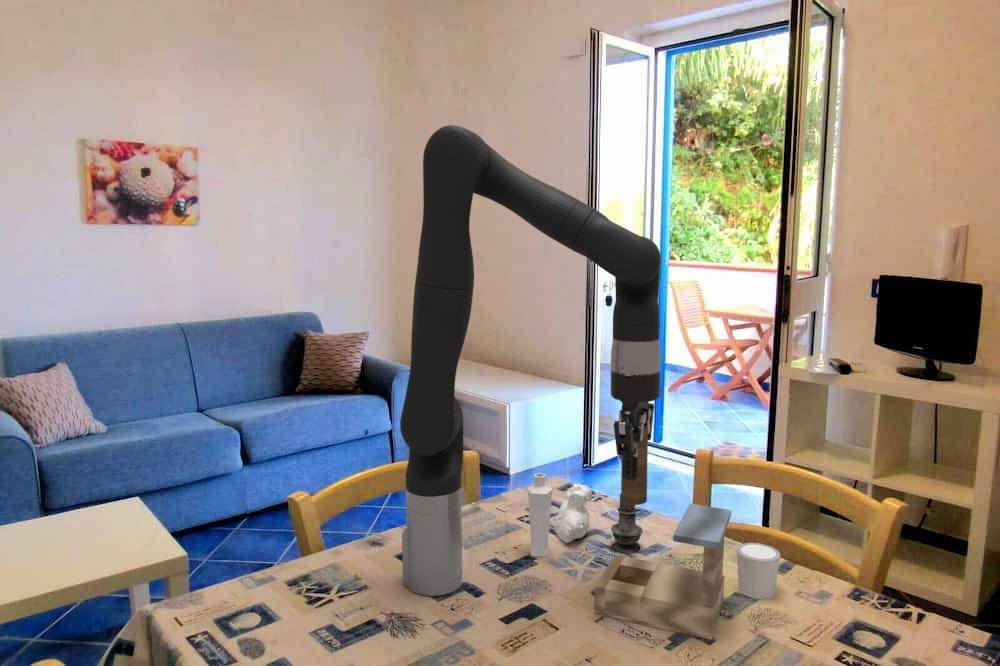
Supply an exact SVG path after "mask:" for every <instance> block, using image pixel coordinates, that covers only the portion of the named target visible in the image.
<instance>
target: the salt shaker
mask: <svg viewBox="0 0 1000 666" xmlns="http://www.w3.org/2000/svg"><path fill="white" fill-rule="evenodd" d="M617 511H618V523H615V524H613V525H612V526H611V527H610V531H611V532H612V536H613V538H614V540H615V541H614V543H613V544H612V545H611V547H612V549H613V550H614V551H616V552H618V553H621V554H629V555H630V554H635V553H638V552H640V551H641V549H642V548H641V545H640V544H639V543H637V542H638V541H639V540H640V538H641V536H642V534H643V532H644V530H643V528H642V527H641V526H639V525H638V524H637V523H636V514H637V513H638V509H637V508H636V505H631V504H627V503H624V502H622V500H621V493H620V494H619V507H618V508H617ZM639 550H640V551H639Z"/></svg>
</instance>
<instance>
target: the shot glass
mask: <svg viewBox="0 0 1000 666" xmlns="http://www.w3.org/2000/svg"><path fill="white" fill-rule="evenodd" d="M736 555H737V556H736V559H737V578H738V591H739V592H740V593H741V594H742V595H745V596H746V597H749V598H751V599H754V600H755V599H757V600H768V599H771V598H773V597H774V595H775V593H776V587H777V581H778V575H779V567H780V561H781V553H780V551H779V550H778V549H777V548H775V547H773V546H770V545H767V544H763V543H760V542H746V543H742V544H738V546H736Z"/></svg>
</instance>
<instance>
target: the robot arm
mask: <svg viewBox="0 0 1000 666" xmlns="http://www.w3.org/2000/svg"><path fill="white" fill-rule="evenodd" d="M425 144H426V145H425V147H424V151H423V157H422V168H423V169H422V182H423V187H422V188H423V194H422V195H423V197H422V198H423V209H422V211H423V214H422V224H421V225H422V226H421V230H420V231H421V232H420V239H419V246H418V256H417V265H416V272H415V283H414V291H413V303H412V320H411V322H412V323H411V339H410V340H411V343H410V344H411V347H410V348H411V349H410V354H411V355H410V367H409V368H410V369H409V375H408V381H407V386H406V392H405V397H404V401H403V406H402V410H401V415H400V421H399V422H400V423H399V427H400V428H399V430H400V434H401V436H402V439H403V441H404V443H405V444H406V445H407V447H408V448H409V453H408V462H407V466H406V471H405V505H406V506H405V507H406V511H405V513H406V528H405V529H404V530H403V531H402V533H401V548H402V549H401V551H402V553H401V554H402V557H401V558H402V585H403V586H406V587H408V588H409V589H410V591H412V592H414V593H415V594H418V595H422V596H427V597H437V596H438V597H439V596H445V595H448V594H451V593H454V592H455V591H457V590H458V589H459V588H460V587H462V585H463V533H462V532H463V529H462V527H463V526H462V525H463V524H462V521H463V520H462V519H463V517H462V511H463V510H462V472H463V465H464V414H463V413H464V412H463V408H462V406H461V403H460V401H458V399H457V398H456V396H455V388H456V376H457V369H458V364H459V361H460V358H461V354H462V351H463V347H464V344H465V340H466V337H467V332H468V329H469V324H470V317H471V312H472V305H473V298H474V297H473V295H474V288H475V287H474V284H475V265H474V257H473V256H474V255H473V249H472V243H471V242H472V240H471V231H470V229H471V228H470V224H471V223H470V220H471V219H470V218H471V210H472V204H473V197H474V195H478V196H480V197H484V198H486V199H488V200H491V201H493V202H494V203H497V204H499V205H500V206H503V207H504V208H505V209H508V210H510V211H511V212H513V213H514V214H516V215H517V216H518V217H520V218H521V219H522V220H523V221H525V222H526V223H528V224H529V225H530V226H532V227H533V228H535V229H536V230H537V231H539V232H541V233H542V234H544V235H545V236H547V237H548V238H550V239H552V240H553V241H555V242H557V243H559V244H560V245H562V246H564V247H566V248H568V249H569V250H571V251H572V252H575V253H576V254H579V255H581V256H582V257H585V258H587V259H588V260H590V261H591V262H593V263H594V264H596V265H597V266H598V267H599V268H600V269H602V270H604V271H605V272H607V273H608V274H610V275H611V276H613V277H614V278H615V280H614V282H615V301H614V302H615V303H614V306H613V312H612V343H611V350H610V395H611V397H612V398H613V399H614V400H617V401H620V403H621V404H622V405H621V410H619V412H618V420H615V421H614V423H613V429H614V437H615V438H614V439H615V449H616V454H617V456H621V457H622V456H623V473H622V476H623V478H624V479H627V480H636V479H637V477H638V448H639V443H640V442H641V441H642V439H643V428H644V425H646V426H648V441H651V440H652V431H653V423H654V421H653V419H654V413H655V403H653V402H655V401H656V400H658V399H659V398H660V396H661V357H662V356H661V354H662V353H661V344H660V324H661V321H660V308H659V293H660V292H659V291H660V278H661V261H662V257H661V252H660V249H659V248H658V246H657V244H656V243H655V242H654V241H653V240H651V239H650V238H648V237H645V236H641V235H639V234H637V233H635V232H632V231H631V230H629V229H627V228H625V227H623V226H621V225H619V224H617V223H615V222H613V221H611V220H610V219H609V218H608V217H607V216H606V215H604V214H603V213H602V212H600V211H598V210H597V209H595V208H594V207H592V206H590V205H588V204H586V202H585V203H584V202H583V201H581V200H580V199H577V198H575V197H574V196H572V195H570V194H568V193H567V192H565V191H563V190H560V189H558V188H556V187H555V186H551V185H550V184H548V183H546V182H544V181H542V180H540V179H537V178H535V177H533V176H532V175H531V174H529V173H526V172H525V171H524V170H522V169H520V168H518V167H517V166H515V165H514V164H513V163H511V162H509V161H508V160H507V159H506V158H504V157H503V156H502V155H501V154H500V153H498V152H497V151H496V150H494V149H493V148H492V147H491V146H490V145H489V144H487V143H486V142H485V140H484V139H483V138H482V136H480V135H479V134H477V133H476V132H473V131H472V130H470V129H467V128H465V127H463V126H460V125H454V124H453V125H445V126H442V127H440V128H438V129H436V130H435V131H434V132H433V133H432V134H431V135H430V137H429V138H428V140H427V142H426V143H425ZM651 402H652V403H651ZM636 433H638V434H637V436H636V437H634V436H633V434H636ZM626 444H627V445H628V446H629V448H626Z"/></svg>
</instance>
